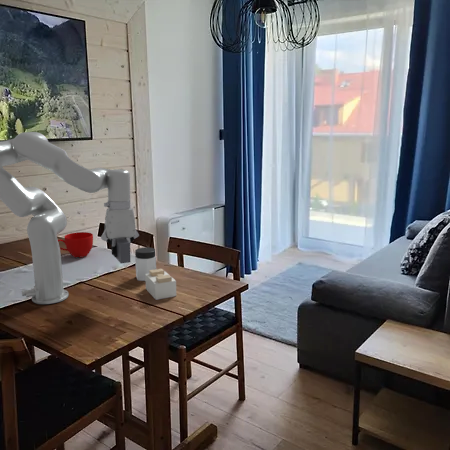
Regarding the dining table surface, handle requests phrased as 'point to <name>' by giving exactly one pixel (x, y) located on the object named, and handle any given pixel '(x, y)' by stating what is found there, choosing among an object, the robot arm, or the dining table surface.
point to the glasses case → (123, 250)
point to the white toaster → (160, 284)
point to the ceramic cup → (78, 243)
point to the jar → (144, 262)
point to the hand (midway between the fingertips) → (120, 255)
